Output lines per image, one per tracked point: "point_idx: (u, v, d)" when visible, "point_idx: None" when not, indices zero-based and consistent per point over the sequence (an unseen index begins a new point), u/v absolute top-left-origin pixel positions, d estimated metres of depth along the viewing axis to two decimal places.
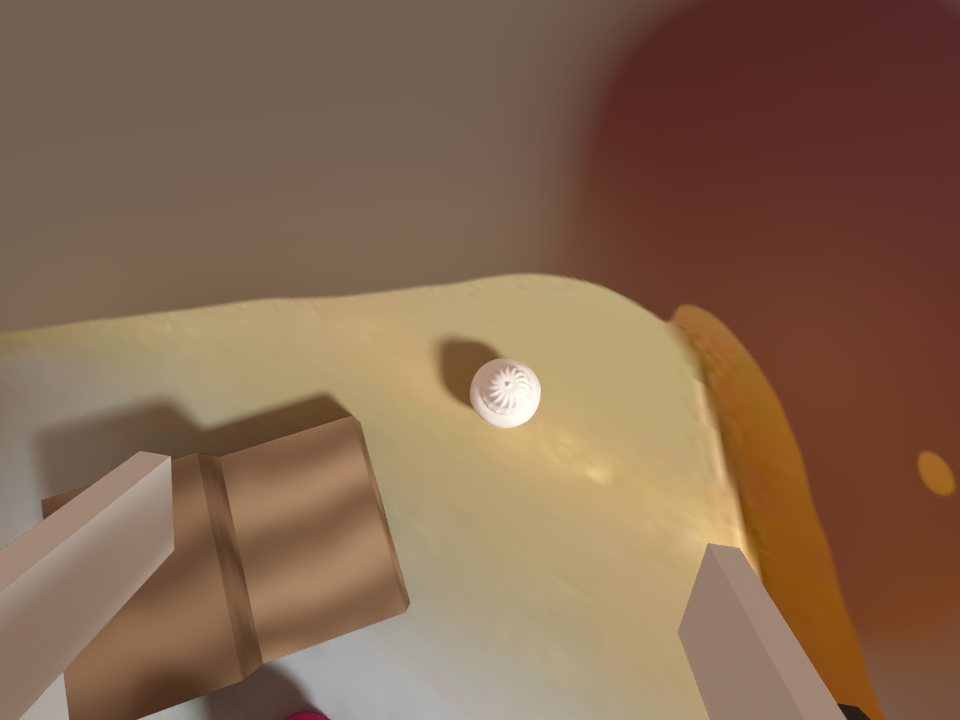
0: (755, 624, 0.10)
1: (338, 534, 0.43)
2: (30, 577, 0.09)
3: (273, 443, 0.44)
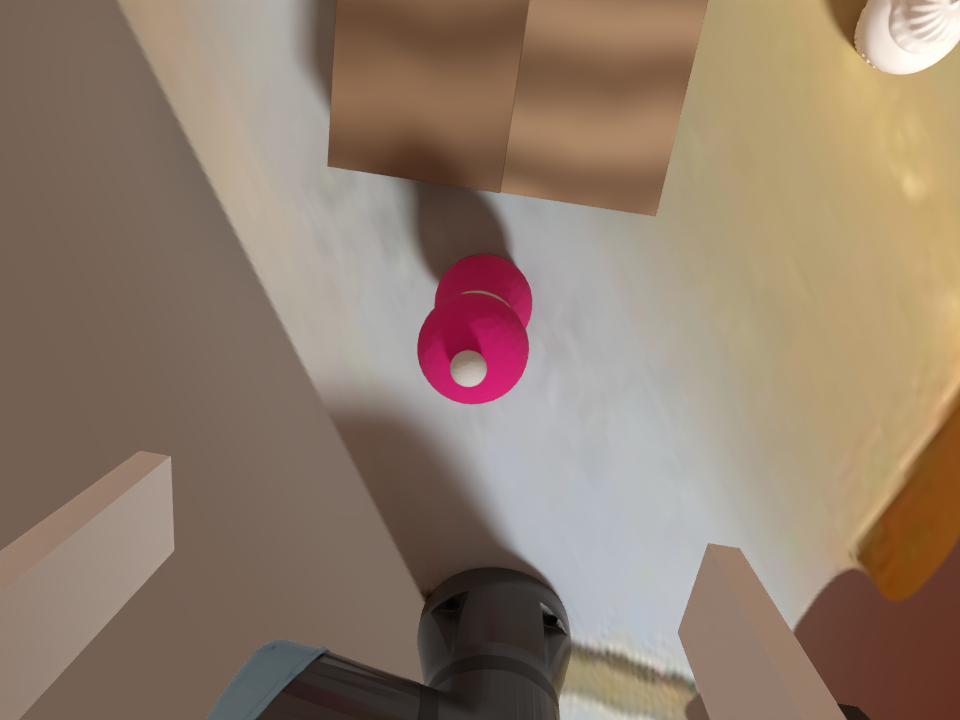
0: (755, 624, 0.10)
1: (631, 97, 0.35)
2: (30, 577, 0.09)
3: None
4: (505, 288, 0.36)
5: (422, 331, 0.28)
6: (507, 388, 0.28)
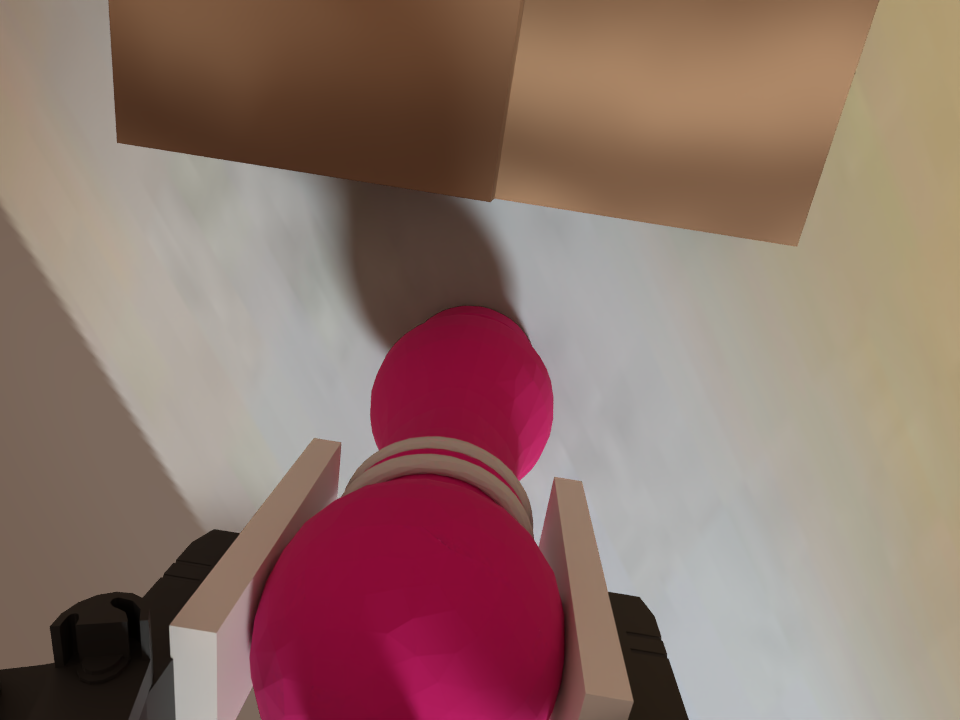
0: (565, 533, 0.12)
1: (766, 2, 0.17)
2: (282, 539, 0.11)
3: None
4: (503, 395, 0.18)
5: (258, 611, 0.10)
6: None
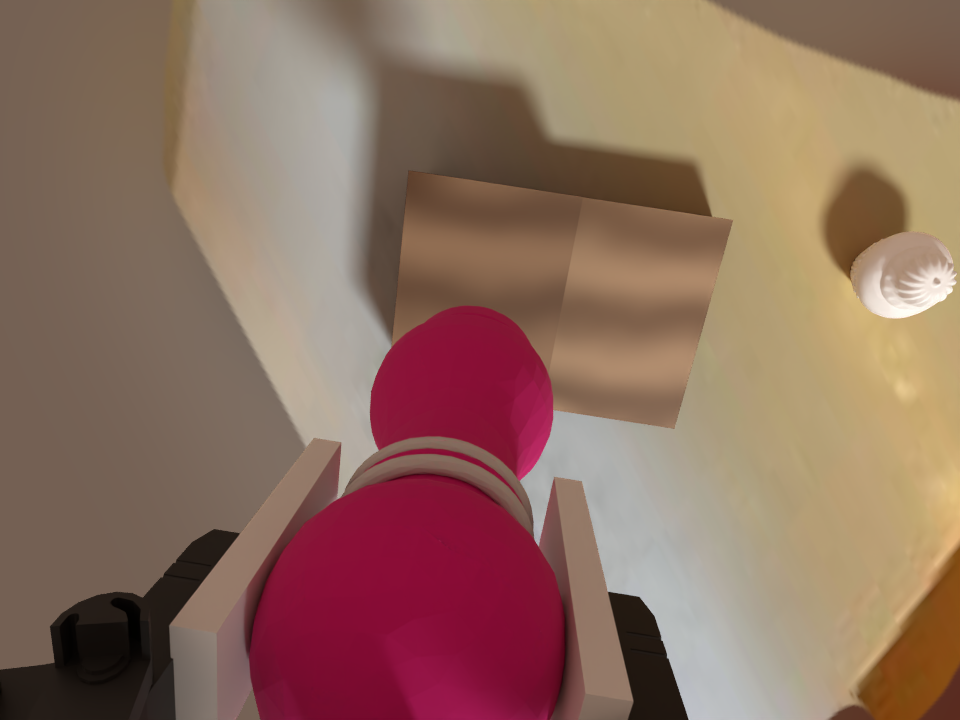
0: (565, 533, 0.12)
1: (653, 334, 0.40)
2: (282, 539, 0.11)
3: (636, 209, 0.37)
4: (503, 395, 0.18)
5: (258, 612, 0.10)
6: None
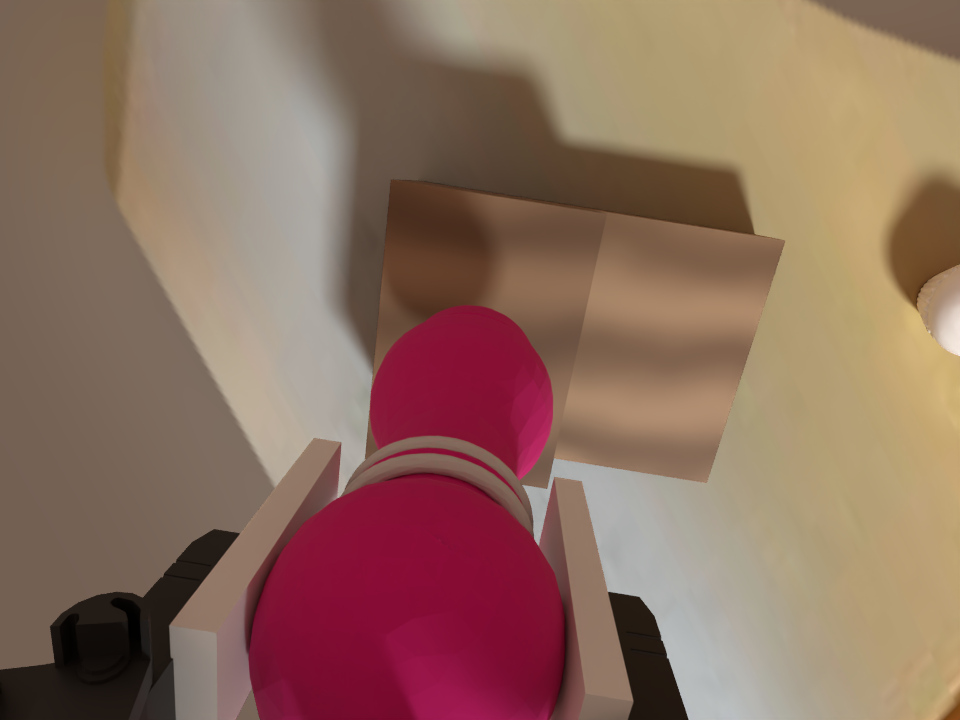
0: (565, 533, 0.12)
1: (684, 374, 0.34)
2: (282, 539, 0.11)
3: (668, 226, 0.31)
4: (503, 395, 0.17)
5: (257, 611, 0.10)
6: None
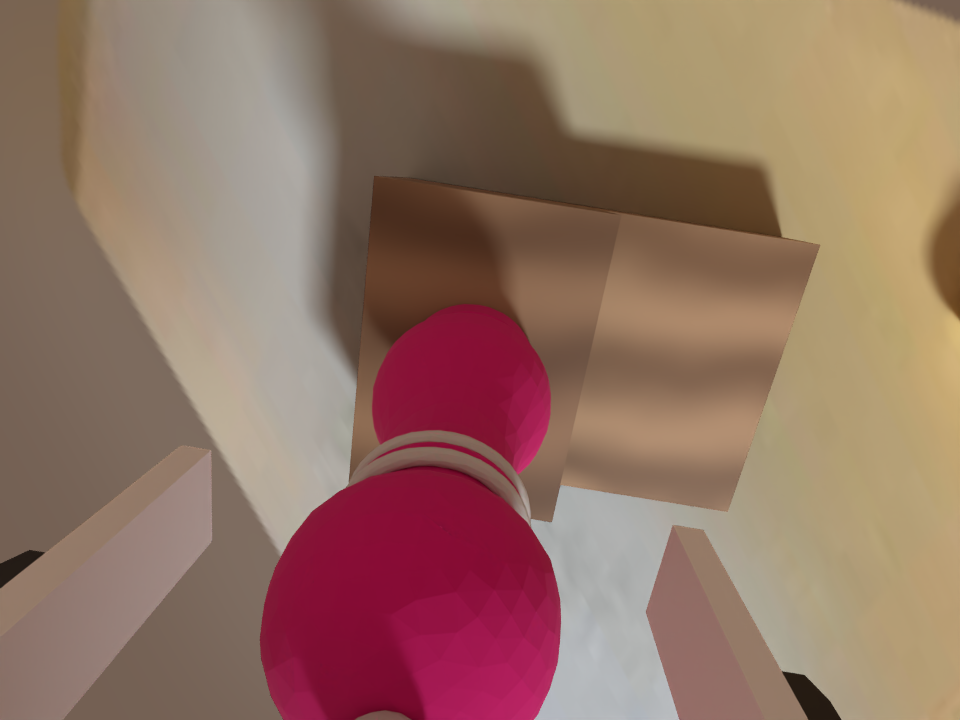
0: (710, 598, 0.11)
1: (704, 393, 0.30)
2: (93, 562, 0.10)
3: (688, 229, 0.27)
4: (501, 391, 0.18)
5: (268, 595, 0.10)
6: None
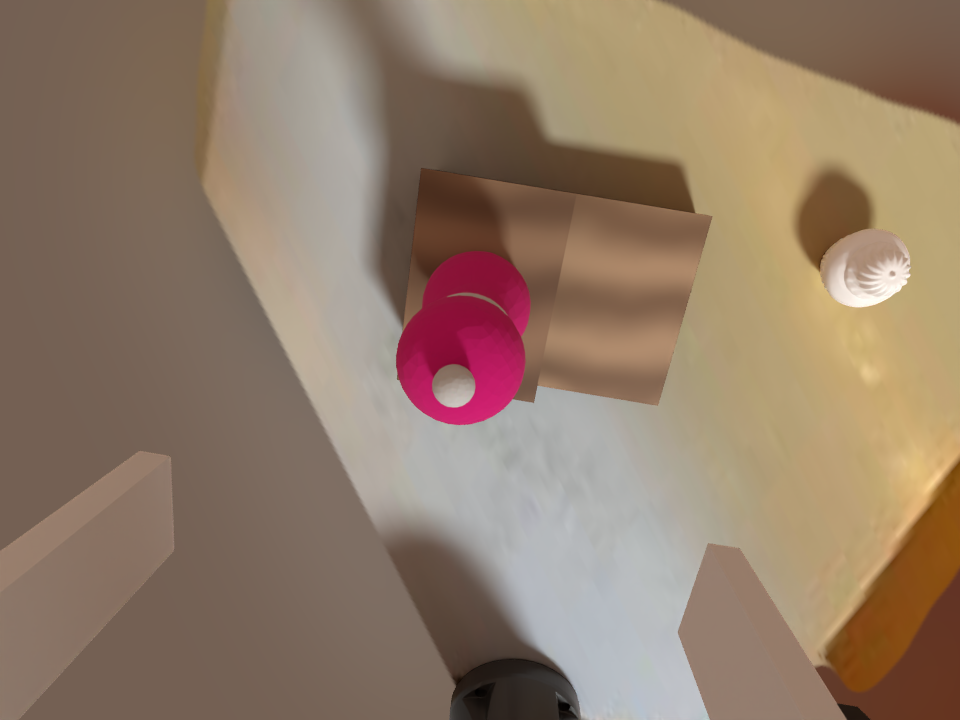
0: (755, 624, 0.10)
1: (639, 319, 0.44)
2: (30, 577, 0.09)
3: (625, 205, 0.41)
4: (500, 289, 0.32)
5: (401, 340, 0.24)
6: (500, 407, 0.24)
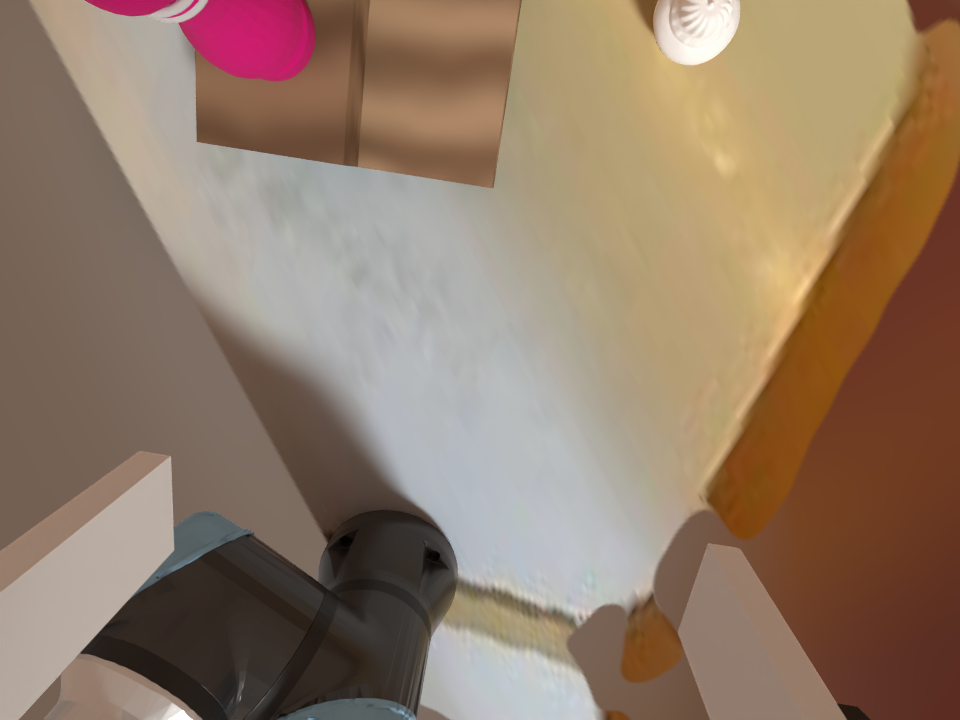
0: (755, 624, 0.10)
1: (462, 84, 0.41)
2: (30, 577, 0.09)
3: None
4: None
5: None
6: None
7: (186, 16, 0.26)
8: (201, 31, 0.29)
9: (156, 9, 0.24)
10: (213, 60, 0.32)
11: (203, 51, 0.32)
